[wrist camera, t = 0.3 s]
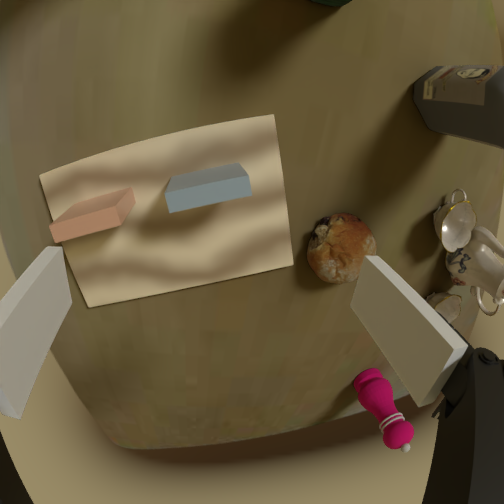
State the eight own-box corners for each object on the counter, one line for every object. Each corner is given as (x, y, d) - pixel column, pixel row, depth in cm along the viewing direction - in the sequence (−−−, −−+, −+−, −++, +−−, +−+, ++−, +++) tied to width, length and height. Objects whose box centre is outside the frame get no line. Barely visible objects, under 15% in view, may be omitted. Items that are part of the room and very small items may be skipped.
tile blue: (171, 176, 35) (164, 193, 28) (238, 162, 36) (248, 175, 29) (175, 194, 36) (170, 215, 29) (241, 180, 37) (252, 197, 30)
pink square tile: (74, 203, 34) (48, 225, 27) (131, 186, 35) (115, 205, 28) (80, 219, 35) (56, 245, 28) (136, 204, 36) (121, 227, 29)
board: (43, 173, 33) (39, 175, 32) (271, 114, 35) (273, 114, 34) (90, 303, 42) (88, 307, 40) (291, 260, 44) (293, 264, 43)
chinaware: (409, 192, 44) (474, 236, 29) (481, 174, 43) (546, 207, 28) (411, 323, 57) (448, 381, 42) (472, 297, 56) (513, 344, 41)
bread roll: (303, 264, 49) (324, 306, 44) (294, 221, 41) (320, 268, 36) (359, 240, 49) (383, 279, 44) (360, 195, 41) (392, 237, 36)
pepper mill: (355, 369, 57) (398, 447, 39) (385, 363, 58) (431, 434, 40) (347, 392, 60) (383, 466, 42) (375, 385, 61) (414, 454, 43)
